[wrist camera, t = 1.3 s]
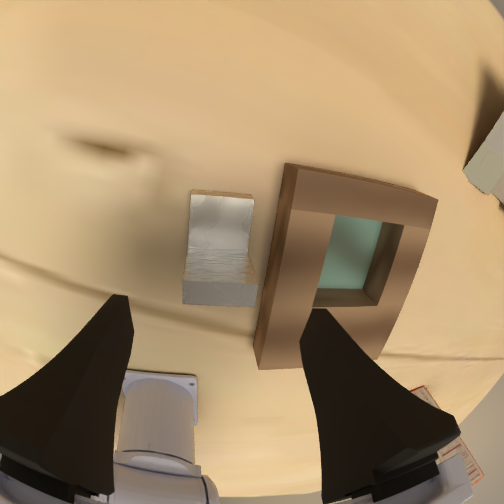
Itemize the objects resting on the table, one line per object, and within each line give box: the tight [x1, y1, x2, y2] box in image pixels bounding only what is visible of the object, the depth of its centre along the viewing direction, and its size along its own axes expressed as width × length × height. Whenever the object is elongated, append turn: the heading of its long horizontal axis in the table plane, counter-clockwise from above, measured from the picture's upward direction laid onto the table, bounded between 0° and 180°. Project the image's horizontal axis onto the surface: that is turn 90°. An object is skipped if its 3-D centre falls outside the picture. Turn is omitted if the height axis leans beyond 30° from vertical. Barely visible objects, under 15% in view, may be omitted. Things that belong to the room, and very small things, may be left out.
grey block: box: [183, 190, 259, 307], centre depth 17 cm, size 5×4×6 cm
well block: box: [253, 163, 438, 370], centre depth 21 cm, size 16×12×3 cm
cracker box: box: [410, 386, 484, 486], centre depth 28 cm, size 14×6×21 cm, turn 0°
